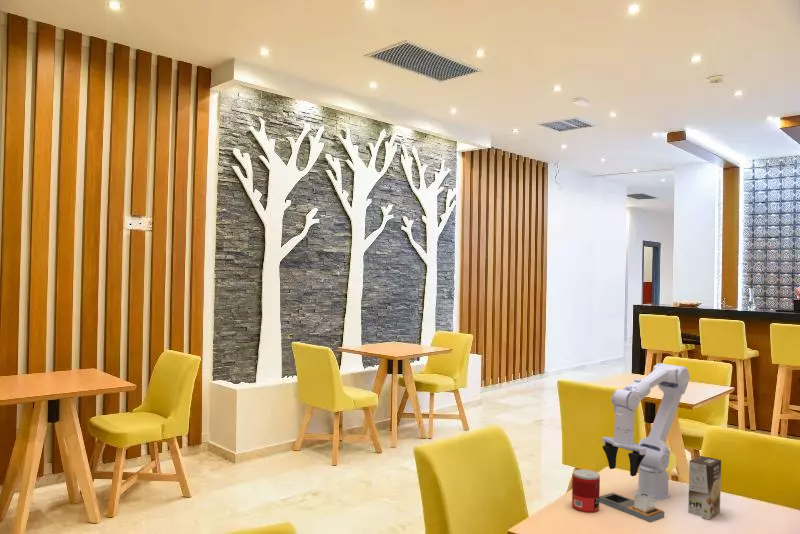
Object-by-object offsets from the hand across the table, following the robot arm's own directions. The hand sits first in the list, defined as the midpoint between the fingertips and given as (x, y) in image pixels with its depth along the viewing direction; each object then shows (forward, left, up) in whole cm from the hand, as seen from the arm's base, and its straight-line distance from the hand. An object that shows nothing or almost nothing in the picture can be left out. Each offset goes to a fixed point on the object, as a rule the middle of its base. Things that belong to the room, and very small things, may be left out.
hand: (622, 472), depth 191 cm
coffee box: (-17, +17, -11) cm, 26 cm away
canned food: (+12, -4, -11) cm, 17 cm away
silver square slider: (+2, +9, -10) cm, 14 cm away
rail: (+1, +4, -10) cm, 11 cm away
